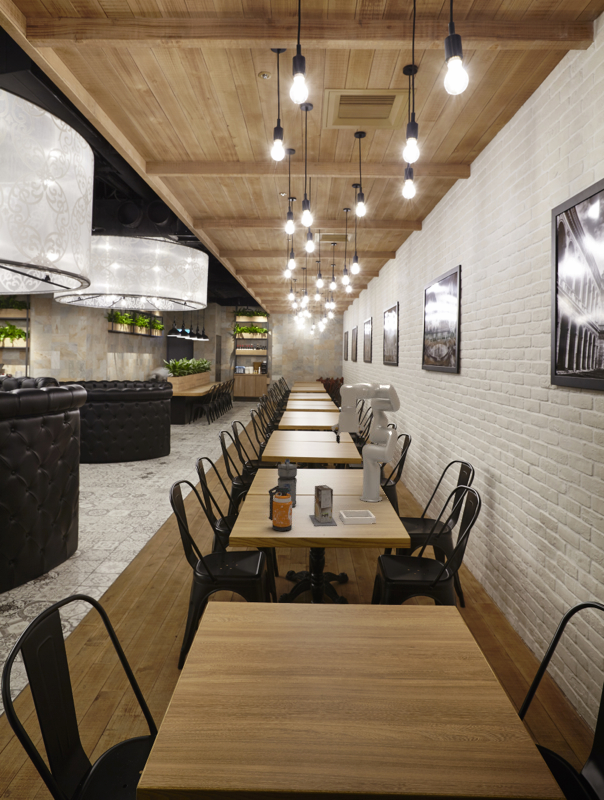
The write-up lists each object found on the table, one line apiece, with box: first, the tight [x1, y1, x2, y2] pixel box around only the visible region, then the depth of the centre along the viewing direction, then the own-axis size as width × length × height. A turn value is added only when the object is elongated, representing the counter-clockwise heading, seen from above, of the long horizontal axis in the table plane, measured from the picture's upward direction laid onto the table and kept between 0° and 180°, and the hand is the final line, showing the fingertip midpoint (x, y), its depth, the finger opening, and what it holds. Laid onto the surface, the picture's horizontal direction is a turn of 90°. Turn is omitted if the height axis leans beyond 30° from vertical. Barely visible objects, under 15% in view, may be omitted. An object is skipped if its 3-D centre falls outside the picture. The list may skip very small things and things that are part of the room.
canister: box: [268, 484, 293, 532], centre depth 233 cm, size 9×11×20 cm
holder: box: [338, 509, 377, 525], centre depth 249 cm, size 12×15×3 cm
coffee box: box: [313, 484, 334, 523], centre depth 246 cm, size 9×6×16 cm
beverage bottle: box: [277, 458, 298, 508], centre depth 270 cm, size 10×13×25 cm
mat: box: [308, 514, 338, 527], centre depth 247 cm, size 16×11×1 cm
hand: (347, 443), depth 257 cm, fingers open, 9 cm apart
